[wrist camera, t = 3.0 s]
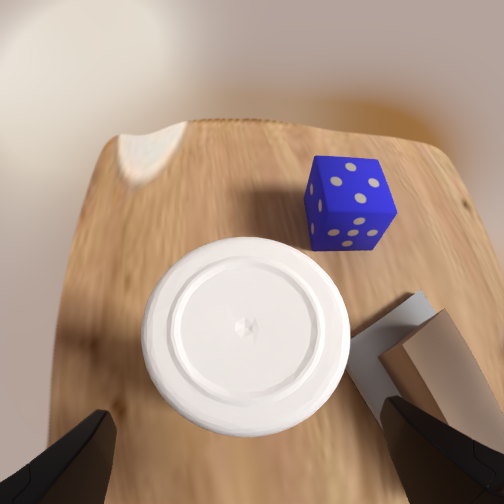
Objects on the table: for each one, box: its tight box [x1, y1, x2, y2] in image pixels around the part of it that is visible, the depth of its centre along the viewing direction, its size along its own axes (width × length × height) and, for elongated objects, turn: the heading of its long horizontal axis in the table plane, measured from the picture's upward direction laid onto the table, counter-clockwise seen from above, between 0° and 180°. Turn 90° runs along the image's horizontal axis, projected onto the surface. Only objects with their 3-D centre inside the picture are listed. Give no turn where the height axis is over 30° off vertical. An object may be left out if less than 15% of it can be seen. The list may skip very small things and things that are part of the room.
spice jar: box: [141, 237, 350, 437], centre depth 12 cm, size 5×5×13 cm
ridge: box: [345, 289, 504, 454], centre depth 15 cm, size 8×16×4 cm, turn 28°
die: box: [304, 156, 397, 251], centre depth 22 cm, size 5×5×5 cm
